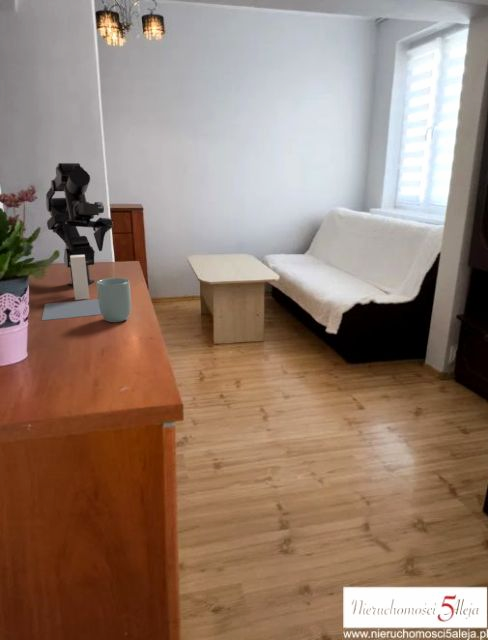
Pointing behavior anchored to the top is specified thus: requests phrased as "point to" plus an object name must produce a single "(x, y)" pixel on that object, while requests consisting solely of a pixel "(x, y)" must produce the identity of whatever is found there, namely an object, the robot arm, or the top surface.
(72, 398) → the top surface
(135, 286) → the top surface
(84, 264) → the block
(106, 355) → the top surface
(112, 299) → the cup
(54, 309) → the slate mat
